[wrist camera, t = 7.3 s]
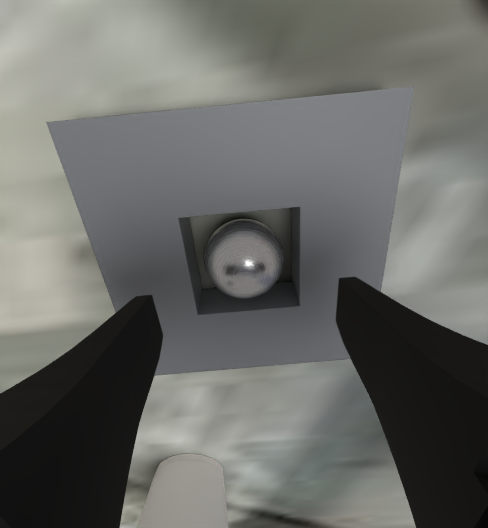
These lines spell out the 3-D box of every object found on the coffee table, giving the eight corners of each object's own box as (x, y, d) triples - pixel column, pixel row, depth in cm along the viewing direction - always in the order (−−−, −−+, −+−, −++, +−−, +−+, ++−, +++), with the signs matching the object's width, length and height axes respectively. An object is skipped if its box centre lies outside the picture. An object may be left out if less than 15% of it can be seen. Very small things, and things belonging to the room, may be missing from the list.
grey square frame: (354, 329, 20) (369, 357, 18) (149, 347, 20) (139, 376, 18) (384, 90, 13) (413, 86, 11) (77, 119, 13) (46, 122, 11)
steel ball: (280, 271, 17) (288, 312, 14) (213, 275, 18) (205, 317, 14) (279, 205, 16) (289, 234, 12) (204, 210, 16) (192, 240, 12)
